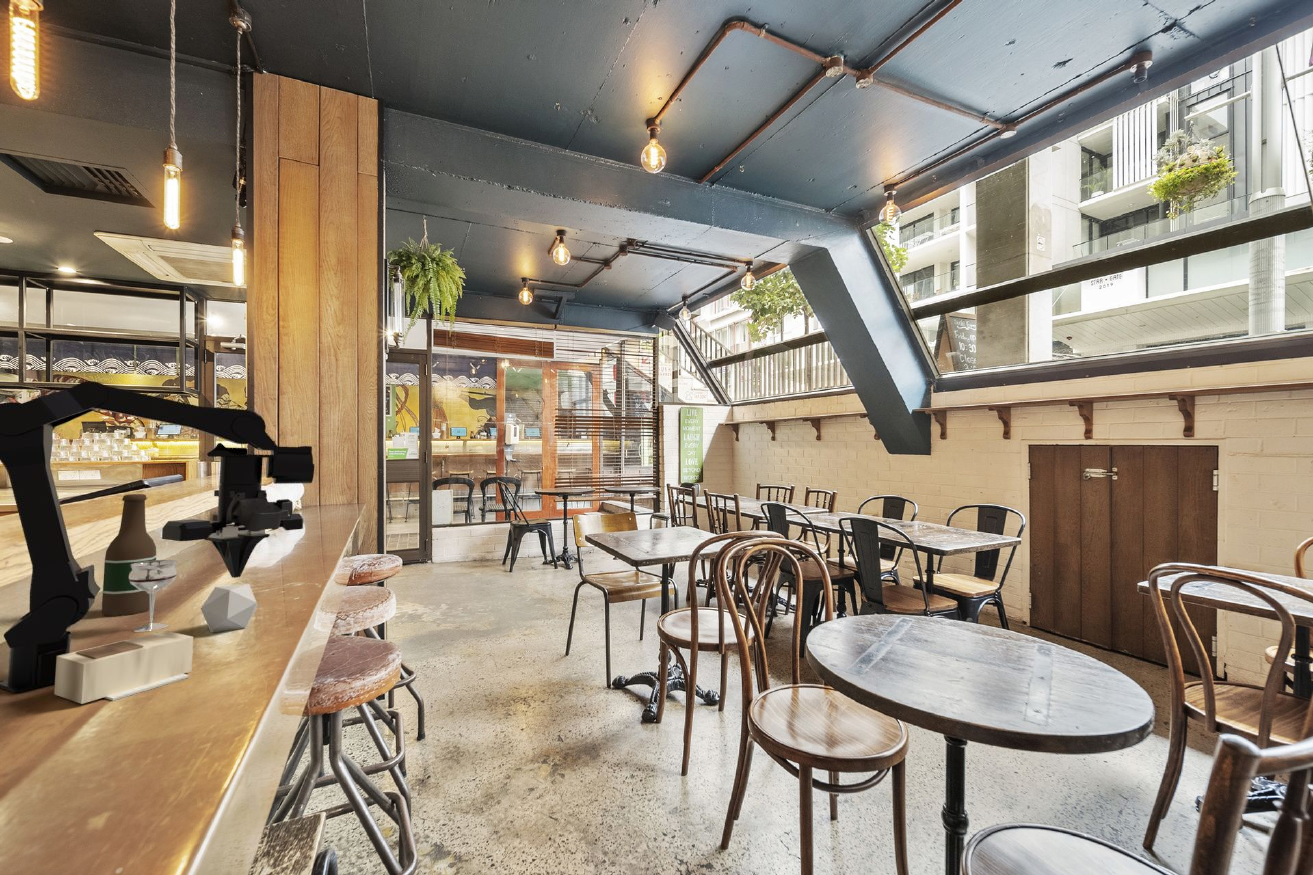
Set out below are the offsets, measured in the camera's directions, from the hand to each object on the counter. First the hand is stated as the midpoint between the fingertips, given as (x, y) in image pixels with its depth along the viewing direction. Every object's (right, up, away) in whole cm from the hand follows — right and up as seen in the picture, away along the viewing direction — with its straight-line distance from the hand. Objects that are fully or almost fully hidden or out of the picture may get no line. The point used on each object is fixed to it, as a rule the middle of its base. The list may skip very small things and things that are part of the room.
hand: (235, 577), depth 91 cm
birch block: (-1, -9, -9) cm, 13 cm away
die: (-9, -13, +10) cm, 19 cm away
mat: (-3, -11, -14) cm, 19 cm away
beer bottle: (-38, -13, +20) cm, 45 cm away
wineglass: (-24, -12, +10) cm, 28 cm away
